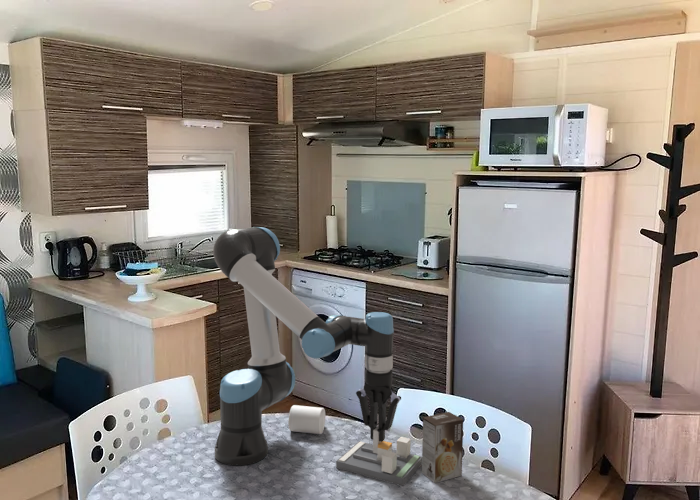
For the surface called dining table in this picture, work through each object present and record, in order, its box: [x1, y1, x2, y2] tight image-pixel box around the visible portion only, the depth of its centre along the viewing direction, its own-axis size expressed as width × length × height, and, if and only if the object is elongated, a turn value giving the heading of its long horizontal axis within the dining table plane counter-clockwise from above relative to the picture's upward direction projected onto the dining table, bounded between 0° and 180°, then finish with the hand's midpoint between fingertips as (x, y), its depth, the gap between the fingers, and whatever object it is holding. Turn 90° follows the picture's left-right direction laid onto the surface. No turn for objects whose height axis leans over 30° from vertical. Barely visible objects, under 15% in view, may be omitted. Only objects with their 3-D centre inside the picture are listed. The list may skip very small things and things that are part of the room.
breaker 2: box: [396, 436, 412, 458], centre depth 165 cm, size 3×3×4 cm
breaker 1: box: [382, 451, 397, 474], centre depth 156 cm, size 3×3×4 cm
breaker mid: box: [377, 440, 393, 461], centre depth 162 cm, size 3×3×4 cm
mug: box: [287, 404, 326, 435], centre depth 186 cm, size 12×10×8 cm
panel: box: [335, 441, 422, 487], centre depth 163 cm, size 20×14×3 cm
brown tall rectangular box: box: [421, 411, 464, 484], centre depth 158 cm, size 9×6×16 cm
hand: (377, 451), depth 163 cm, fingers closed
